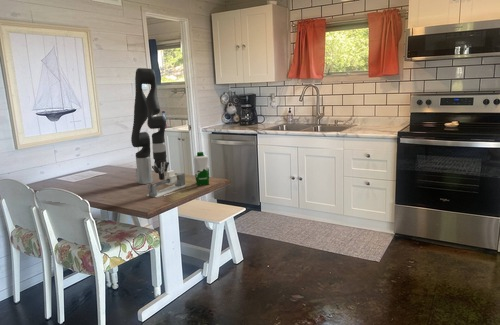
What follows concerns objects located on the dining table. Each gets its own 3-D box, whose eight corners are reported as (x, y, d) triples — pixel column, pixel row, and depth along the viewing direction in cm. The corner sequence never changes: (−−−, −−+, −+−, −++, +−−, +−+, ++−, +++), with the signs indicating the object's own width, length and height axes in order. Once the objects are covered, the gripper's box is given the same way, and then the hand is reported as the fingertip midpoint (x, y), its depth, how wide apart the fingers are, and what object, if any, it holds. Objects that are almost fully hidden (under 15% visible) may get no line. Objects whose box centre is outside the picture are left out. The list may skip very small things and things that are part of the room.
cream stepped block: (171, 185, 235) (170, 172, 233) (165, 184, 237) (164, 171, 236) (177, 183, 239) (176, 170, 238) (171, 182, 242) (170, 170, 240)
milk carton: (208, 181, 255) (206, 151, 250) (210, 184, 246) (208, 153, 242) (194, 182, 252) (192, 152, 248) (196, 186, 244) (194, 154, 240)
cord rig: (157, 197, 223) (155, 184, 221) (146, 196, 227) (145, 182, 225) (187, 186, 245) (186, 173, 244) (177, 184, 249) (176, 172, 248)
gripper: (162, 148, 234) (164, 176, 238) (146, 152, 223) (149, 181, 226) (171, 149, 231) (174, 177, 234) (156, 152, 219) (159, 182, 223)
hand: (161, 179), depth 230 cm, fingers closed
